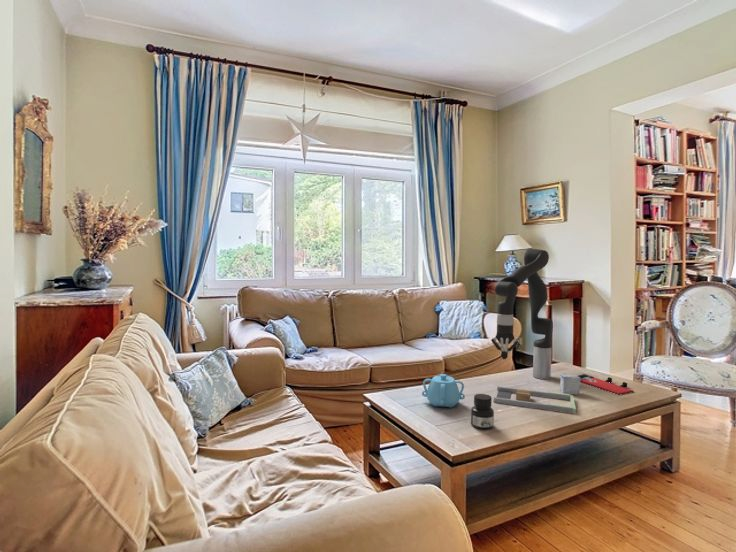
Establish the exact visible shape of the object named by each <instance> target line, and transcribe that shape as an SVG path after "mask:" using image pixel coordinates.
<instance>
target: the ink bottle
mask: <svg viewBox="0 0 736 552" xmlns="http://www.w3.org/2000/svg"><path fill="white" fill-rule="evenodd" d="M492 398H493V397H492V396H491V395H489V394H486V393H476V394H474V397H473V405H474V406H472V407H471V410H470V411H471V413H470V424H471V426H472V427H473V428H475V429H478V430H485V431H486V430H491V429H493V428H494V427H495V426H494V425H495V412H494V409H493V408H492V400H493V399H492Z"/></svg>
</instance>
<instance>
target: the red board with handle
mask: <svg viewBox="0 0 736 552" xmlns="http://www.w3.org/2000/svg"><path fill="white" fill-rule="evenodd" d="M576 375H577V376H578V377H579V378H580V384H584V385H587V384H588V386H590V385H591V386H590V387H593V386H594V387H593V388H596V387H597V388H596V389H599V388H600V389H599V390H602V389H603V391H605V390H606V391H605V392H607V391H609V392H608V393H610V392H612V393H611V394H613V393H615V394H614V395H616V394H618V395H617V396H621V395H620V394H622V395H627V394H631V393H630V392H632V393H634V392H635V390H633V389H630V388H628V382H626V381H623V382H622V384H621V385H618V384H616V383H615V384H614V383H613V377H609V376H608V377H607V379H606V380H603V379H600V378H598V377H597V378H596V377H595V376H592V375H589V374H586V373H581V374H576ZM609 382H610V383H609ZM611 382H612V383H611ZM625 387H627V388H625ZM626 393H627V394H626Z"/></svg>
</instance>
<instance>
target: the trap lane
mask: <svg viewBox="0 0 736 552" xmlns="http://www.w3.org/2000/svg"><path fill="white" fill-rule="evenodd" d="M517 389H518V388H515V387H507V386H499V385H497V389H496V391H497V390H498V391H497V394H496V396H495V397H493V403H497V404H504V405H511V406H517V407H527V408H532V409H540V410H546V409H547V410H546V411H553V410H554V411H556V412H560V411H561V413H569V414H575V415H576V413H577V412H576V411H577V408H576V403H575V399H574V395H573V394H563V393H562V392H555V391H554V392H553V391H540V390H539V391H538V390H532V389H528V390H529V391H530V396H534V395H535V397H541V396H543V398H549V399H558V400H567V401H570V406H569V405H563V404H555V403H554V404H553V403H540V402H539V403H538V402H533V401H530V402H526V401H518V400H516V399H511V395H512V394H516V392H517ZM520 389H521V390H525V389H523V388H520ZM511 392H512V393H511Z"/></svg>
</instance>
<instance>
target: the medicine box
mask: <svg viewBox="0 0 736 552" xmlns="http://www.w3.org/2000/svg"><path fill="white" fill-rule="evenodd" d="M577 375H578V374H560V386H559V387H560V389H559V391H560V393H563V394H570V395H580V389H581V387H580V386H581V382H580V380H581V378H579V377H578V376H577Z"/></svg>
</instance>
